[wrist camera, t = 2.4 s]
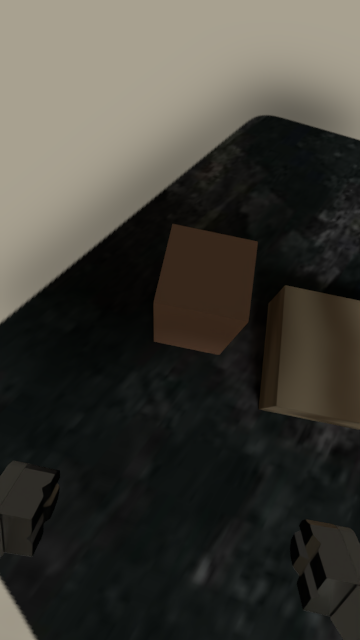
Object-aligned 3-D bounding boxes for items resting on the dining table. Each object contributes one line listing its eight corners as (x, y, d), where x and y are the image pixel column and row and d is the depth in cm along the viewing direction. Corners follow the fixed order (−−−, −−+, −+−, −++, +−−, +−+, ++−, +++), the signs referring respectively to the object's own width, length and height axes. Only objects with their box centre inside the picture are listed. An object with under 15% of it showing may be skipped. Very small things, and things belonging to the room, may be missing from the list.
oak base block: (368, 324, 29) (400, 309, 25) (372, 432, 26) (409, 433, 22) (268, 303, 29) (285, 285, 25) (258, 409, 26) (276, 405, 22)
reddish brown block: (227, 295, 29) (258, 241, 21) (219, 354, 27) (248, 321, 19) (167, 282, 29) (172, 223, 21) (153, 341, 27) (153, 302, 19)
